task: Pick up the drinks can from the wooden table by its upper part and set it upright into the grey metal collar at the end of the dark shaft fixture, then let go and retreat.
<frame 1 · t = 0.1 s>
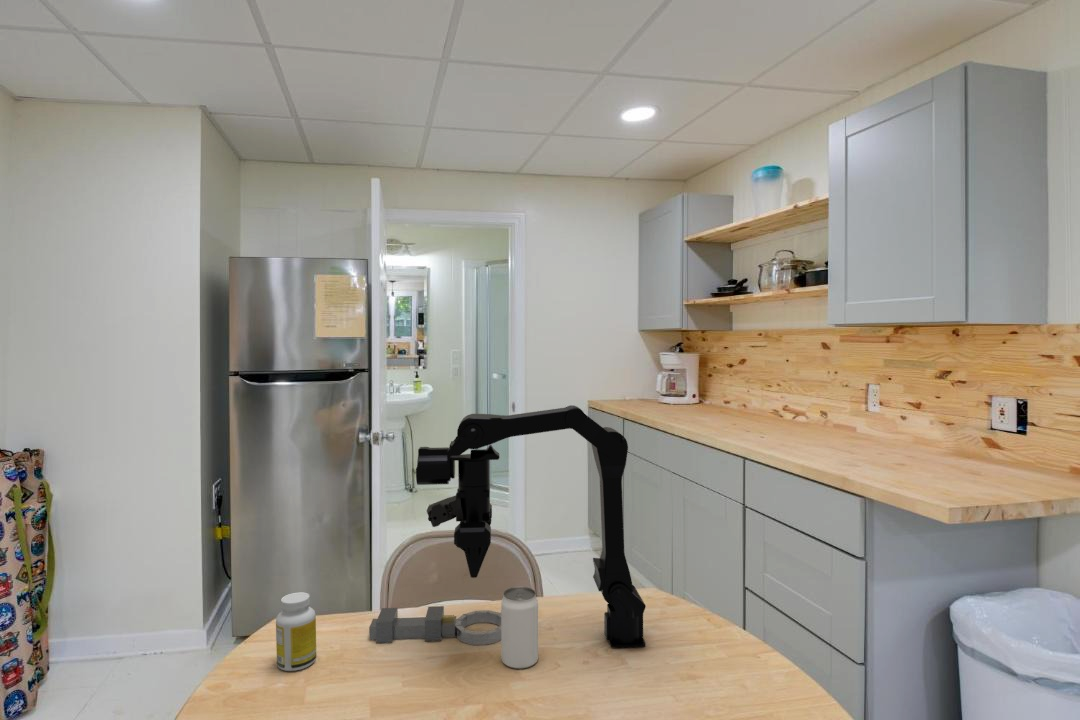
hand: (474, 567, 112), 15 cm above the table, tool pointing down, fingers open, 9 cm apart
pill bottle: (296, 664, 107), on the table
can: (519, 661, 107), on the table
shaft seat: (481, 632, 118), on the table
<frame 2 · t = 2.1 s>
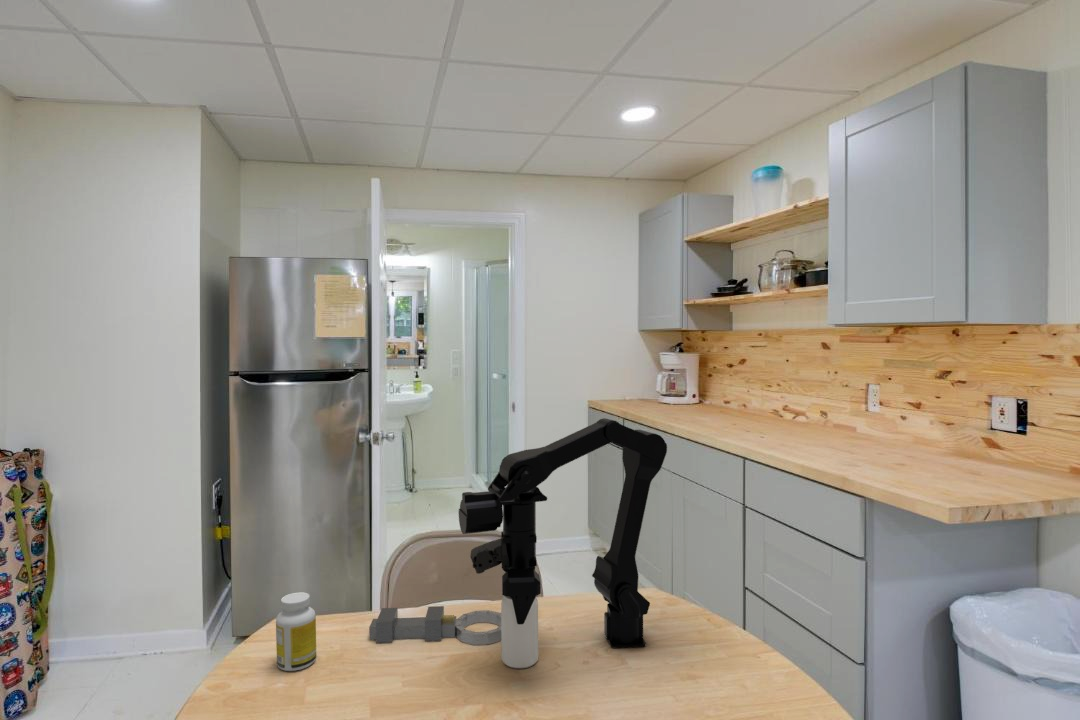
hand: (519, 615, 107), 8 cm above the table, tool pointing down, fingers closed on can, 6 cm apart
can: (519, 661, 107), on the table, touching gripper
everything else where it was.
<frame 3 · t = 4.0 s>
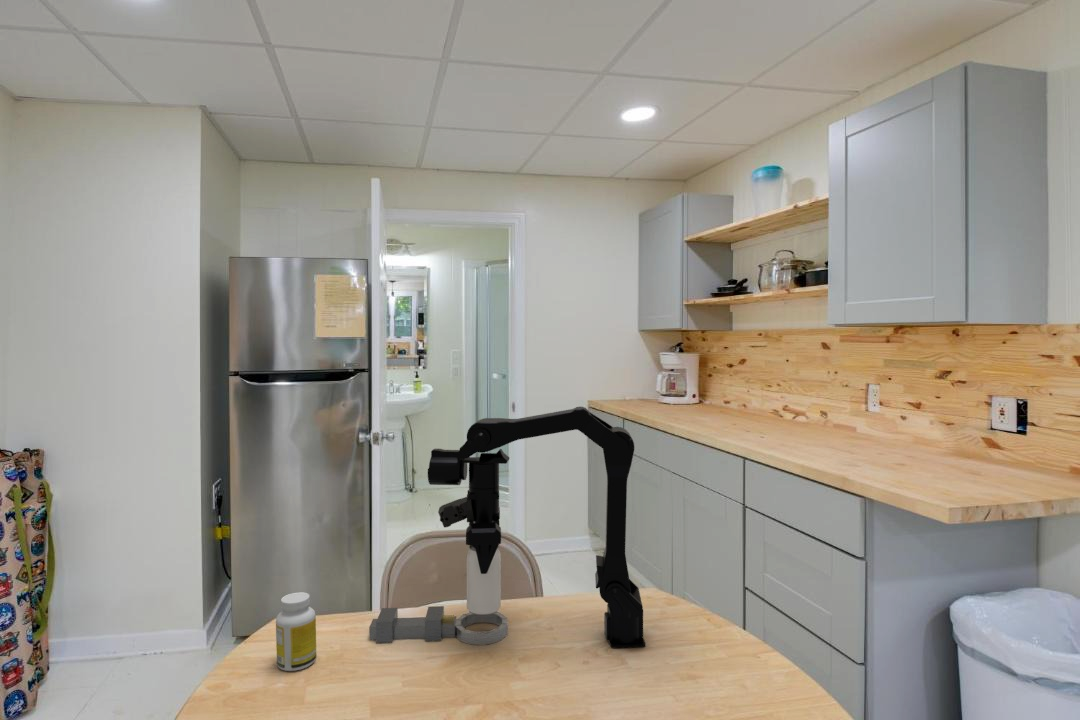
hand: (484, 566, 116), 13 cm above the table, tool pointing down, fingers closed on can, 6 cm apart
can: (483, 609, 116), point 5 cm above the table, touching gripper
everything else where it was.
when the fingers open (9 cm above the table, at t = 5.8 s): can drops 1 cm, resting in shaft seat.
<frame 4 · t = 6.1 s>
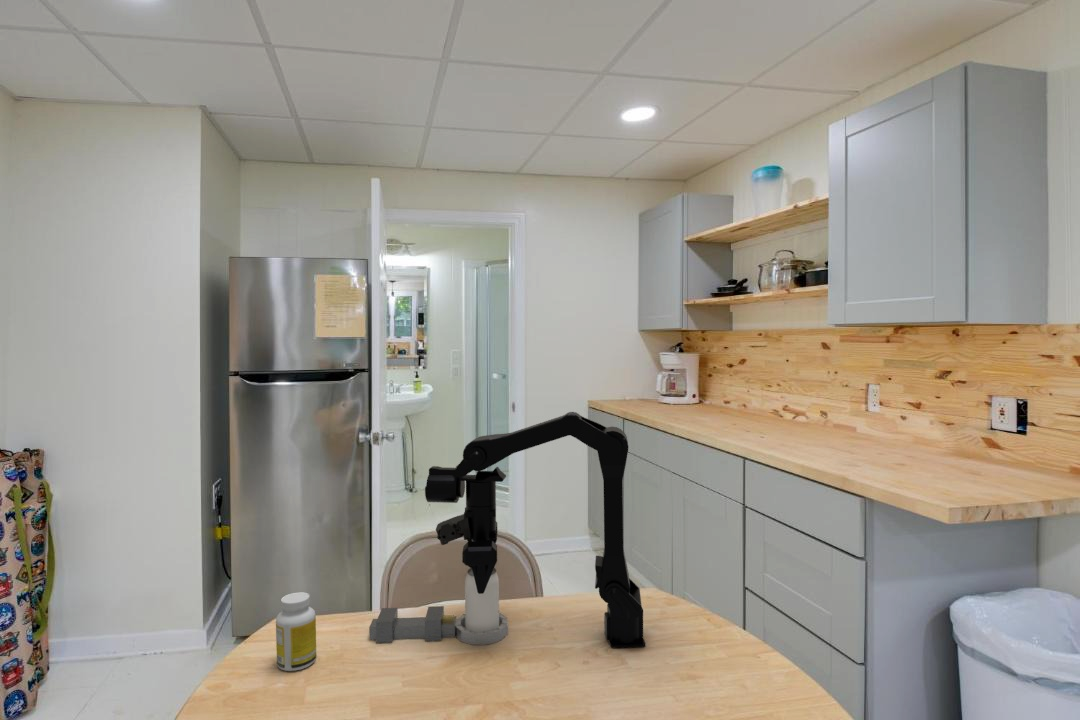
hand: (481, 583, 118), 9 cm above the table, tool pointing down, fingers open, 9 cm apart
can: (482, 633, 118), resting in shaft seat
everything else where it was.
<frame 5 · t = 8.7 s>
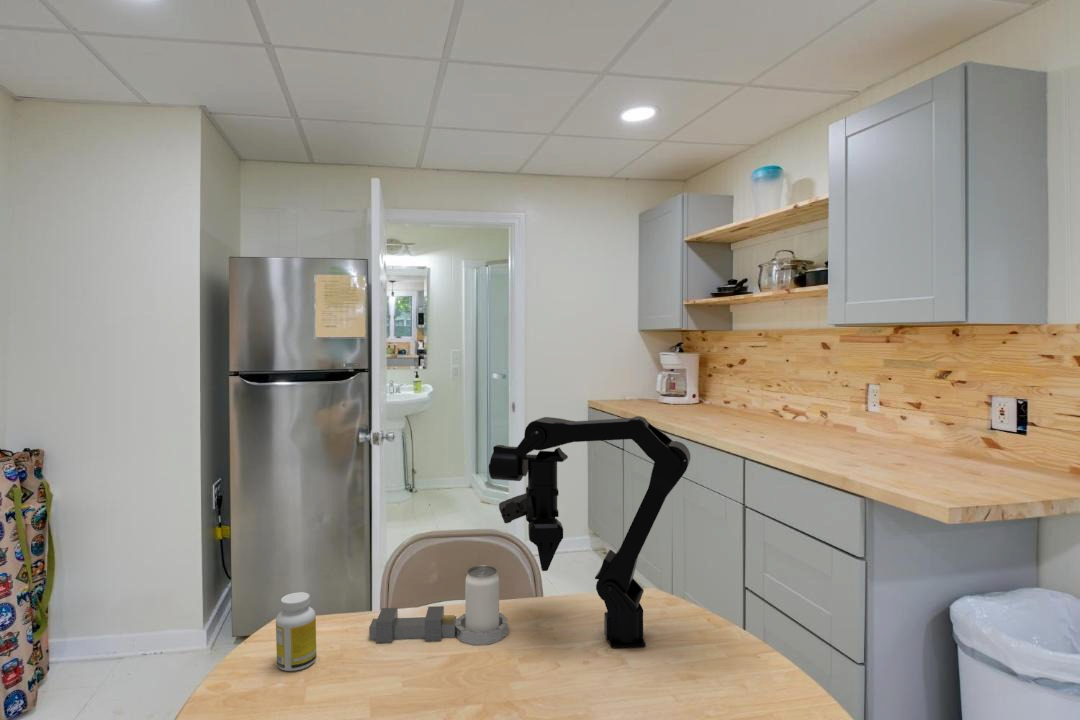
hand: (542, 561, 119), 13 cm above the table, tool pointing down, fingers open, 9 cm apart
nothing on the table moved.
at the end: can 0.2 cm from the shaft seat (horizontally); can resting in shaft seat; can tilted 0° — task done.
